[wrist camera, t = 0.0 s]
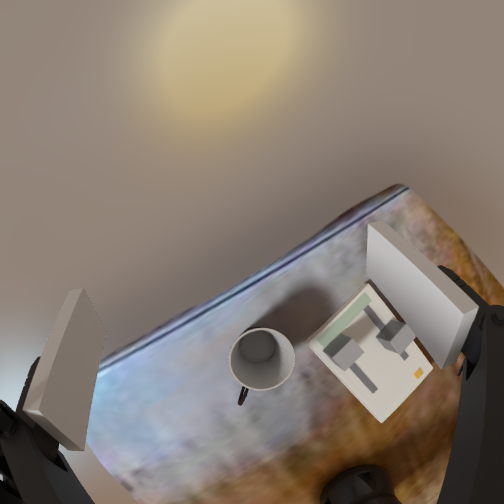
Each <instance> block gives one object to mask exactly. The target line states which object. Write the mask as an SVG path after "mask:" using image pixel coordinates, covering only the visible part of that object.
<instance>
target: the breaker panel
mask: <svg viewBox="0 0 504 504" xmlns="http://www.w3.org/2000/svg"><path fill="white" fill-rule="evenodd" d="M391 320H395V321H398V320H397V319H396V317H395V316H394V315H393V314H392V312H391V311H390V310H389V308H388V307H387V306H386V305H385V303H384V302H383V301H382V300H381V298H380V297H379V296H378V295H377V293H376V292H375V291H374V290H373V288H372V287H371V286H370V285H369V283H368V284H363V285H362V286H361V287H360V288H359V289H358V290H357V291H356V292H355V293H354V294H353V295H352V296H351V297H350V298H349V299H348V300H347V301H346V302H345V303H344V304H343V305H342V306H341V307H340V308H339V309H338V310H337V311H336V312H335V313H334V314H333V315H332V316H331V317H330V318H329V319H328V320H327V321H326V322H325V323H324V324H323V325H322V326H321V327H320V328H319V329H318V330H316V331H315V332H314V333H313V334H312V335H311V336H310V337H309V338H308V339H307V340H306V341H305V343H306V344H307V345H308V346H309V347H310V348H311V349H312V350H313V352H314V353H315V354H316V355H317V356H318V357H319V358H320V359H321V360H322V361H323V362H324V363H325V365H326V366H327V367H328V368H329V369H330V370H331V371H332V372H333V373H334V374H335V375H336V376H337V378H338V379H339V380H340V381H341V382H342V383H343V384H344V385H345V386H346V387H347V388H348V389H349V390H350V391H351V393H352V394H353V395H354V396H355V397H356V398H357V399H358V400H359V401H360V402H361V403H362V404H363V405H364V406H365V407H366V408H367V409H368V411H369V412H370V413H371V414H372V415H373V416H374V417H375V418H376V419H377V420H378V421H379V422H380V423H382V422H383V421H384V420H386V419H387V418H388V417H389V416H390V415H391V414H392V413H393V412H394V411H395V410H396V409H397V408H398V407H399V406H400V405H401V403H402V402H403V401H404V400H405V399H406V398H407V397H408V396H409V395H410V394H411V393H412V392H413V391H414V390H415V388H416V387H417V386H418V385H419V384H420V383H421V382H422V381H423V379H424V378H425V377H426V376H427V375H428V374H429V372H430V371H431V370H432V369H433V367H432V366H431V364H430V363H429V362H428V360H427V359H426V357H425V356H424V355H423V353H422V352H421V351H420V349H419V348H418V346H417V345H416V344H415V342H414V341H412V342H411V343H410V344H409V346H408V347H407V348H406V349H405V350H404V351H403V352H402V353H401V355H400V354H398V353H395V352H392V351H390V350H387V349H385V348H384V347H383V345H382V344H381V343H380V342H379V341H378V339H377V338H376V336H377V335H378V334H379V333H380V332H381V331H382V329H383V328H384V327H385V326H386V325H387V324H388V323H389V322H390V321H391ZM340 333H341V334H343V335H346V336H348V337H351V338H353V339H354V340H355V342H356V343H357V344H358V345H359V346H360V347H361V349H362V350H363V351H364V353H363V354H362V355H361V356H360V357H359V358H358V359H357V360H356V361H355V362H354V363H353V364H352V365H351V366H350V367H349V368H348V369H347V370H346V371H343V370H342V369H341V368H339V367H338V366H337V365H335V364H334V363H333V362H332V361H331V360H330V359H329V358H328V356H327V355H326V354H325V353H324V352H323V350H324V349H325V348H326V347H327V346H328V345H329V344H330V343H331V342H332V341H333V340H334V339H335V338H336V337H337V336H338V335H339V334H340Z"/></svg>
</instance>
